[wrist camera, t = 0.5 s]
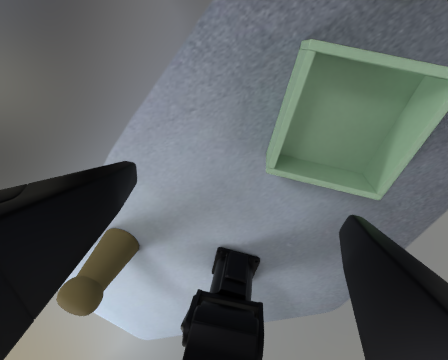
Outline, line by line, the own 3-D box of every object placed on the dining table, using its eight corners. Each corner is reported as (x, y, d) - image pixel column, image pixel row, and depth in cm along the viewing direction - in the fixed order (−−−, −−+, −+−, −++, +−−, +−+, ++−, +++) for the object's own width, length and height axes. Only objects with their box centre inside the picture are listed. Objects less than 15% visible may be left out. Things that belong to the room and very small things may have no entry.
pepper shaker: (142, 238, 34) (94, 309, 25) (136, 258, 37) (92, 327, 28) (106, 222, 33) (44, 289, 24) (103, 244, 37) (48, 310, 27)
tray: (362, 176, 22) (379, 200, 18) (266, 154, 22) (265, 173, 19) (433, 67, 16) (477, 73, 13) (302, 40, 17) (310, 38, 13)
